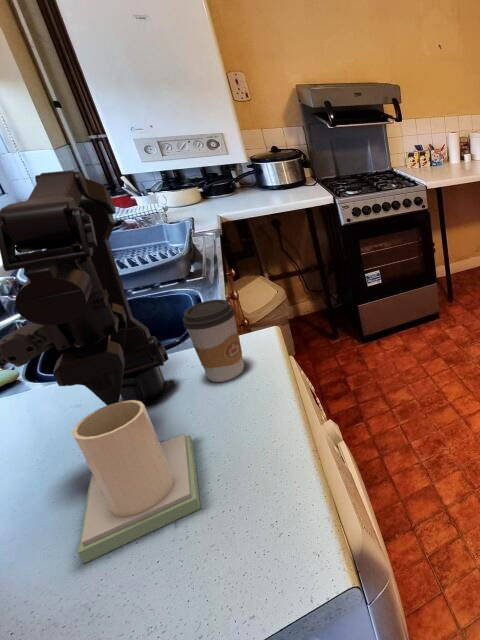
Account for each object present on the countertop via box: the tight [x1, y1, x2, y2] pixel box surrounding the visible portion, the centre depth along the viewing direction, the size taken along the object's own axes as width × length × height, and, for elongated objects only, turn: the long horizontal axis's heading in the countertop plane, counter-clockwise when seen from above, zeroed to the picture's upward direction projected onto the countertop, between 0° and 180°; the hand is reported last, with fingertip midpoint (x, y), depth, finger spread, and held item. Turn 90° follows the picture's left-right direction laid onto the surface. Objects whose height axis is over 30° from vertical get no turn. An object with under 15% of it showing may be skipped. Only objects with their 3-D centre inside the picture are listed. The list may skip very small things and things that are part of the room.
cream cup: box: [71, 400, 174, 517], centre depth 57 cm, size 7×7×13 cm
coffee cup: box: [182, 299, 245, 383], centre depth 86 cm, size 8×8×15 cm
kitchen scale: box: [77, 433, 201, 564], centre depth 62 cm, size 15×12×3 cm
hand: (115, 388), depth 64 cm, fingers open, 9 cm apart
